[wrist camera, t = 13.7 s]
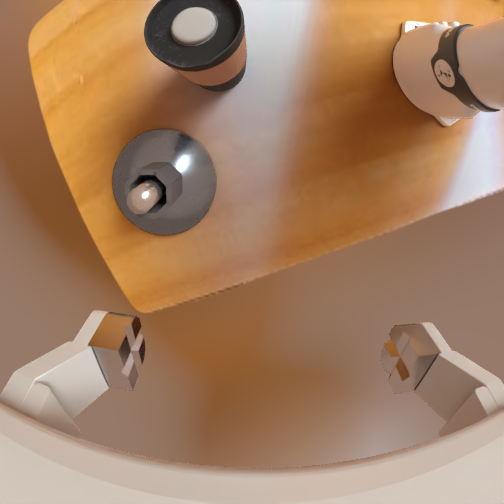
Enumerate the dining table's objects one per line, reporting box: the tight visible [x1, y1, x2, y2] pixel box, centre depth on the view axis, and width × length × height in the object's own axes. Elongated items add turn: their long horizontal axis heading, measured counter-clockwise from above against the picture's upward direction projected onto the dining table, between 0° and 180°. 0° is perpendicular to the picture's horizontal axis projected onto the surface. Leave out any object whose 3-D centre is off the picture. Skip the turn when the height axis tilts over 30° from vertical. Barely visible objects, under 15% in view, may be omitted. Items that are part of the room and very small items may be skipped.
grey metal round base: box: [113, 129, 216, 235], centre depth 35 cm, size 16×16×10 cm
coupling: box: [125, 162, 182, 219], centre depth 36 cm, size 6×6×6 cm
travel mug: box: [144, 0, 247, 91], centre depth 24 cm, size 8×8×20 cm
